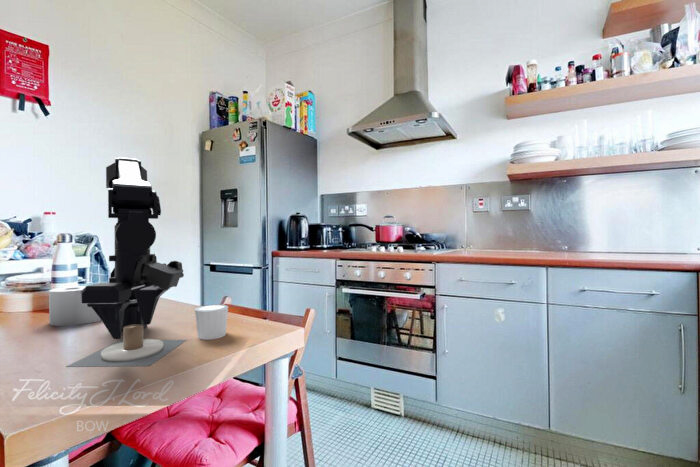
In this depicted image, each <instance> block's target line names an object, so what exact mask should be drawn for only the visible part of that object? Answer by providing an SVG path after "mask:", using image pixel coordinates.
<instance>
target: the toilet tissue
mask: <svg viewBox="0 0 700 467" xmlns="http://www.w3.org/2000/svg"><path fill="white" fill-rule="evenodd" d="M86 286H87V285H77V286H75V285H74V286H64V287H63V286H62V287H56V288H53V289H52V288H51V289H49V290H48V294H49V295H48V305H49V306H48V308H49V310H48V314H49V315H48V316H49V317H48V319H49V325H50V326H53V327H54V326H58V327H59V326H60V327H63V326H73V325H81V324H90V323H91V324H92V323H98V322H102V320H101V319H100V317H99V316H98V315H97V314H96V312H95V311H94V310H93V309H92V307H88V306H87V303H81V291H82V290H83V289H84V288H85V287H86Z"/></svg>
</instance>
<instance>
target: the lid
mask: <svg viewBox="0 0 700 467" xmlns="http://www.w3.org/2000/svg"><path fill="white" fill-rule="evenodd" d="M122 333H123V335H122V336H123V338H122V340H123V342H122V343H118V344H114V345H112V346H109V345H108V346H109V347H107V346H106V347H107V348H105V347H104V348H105V349H103V348H102V349H103V350H102V351H101V359H103V360H105V361H113V362H118V361H130V360H136V359H140V358H144V357H148V356H151V355H153V354H156V353H158V352H160V351H161V350H162V349H163V342H162V341H160V340H161V339H156V338H155V339H154V338H144V328H143V325H142V324H133V325H128V326H125V327H123V332H122Z"/></svg>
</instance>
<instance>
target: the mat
mask: <svg viewBox="0 0 700 467" xmlns="http://www.w3.org/2000/svg"><path fill="white" fill-rule="evenodd" d="M159 340H160V341H162V342H163V349H162V350H161V351H160V352H158V353H156V354H153V355H151V356H148V357H144V358H140V359H136V360H130V361H118V362H113V361H105V360H103V359H101V351H102V350H103V349H105V348H107V347H109V346H112V345H114V344H118V343H122V342H123V339H120V340H118V341H117V340H116V341H115V342H114V343H111V344H109V345H107V346H106V347H103V348H102V349H99V350H97V351H95V352H93V353H91V354H89V355H87V356H85V357H83V358H81V359H79V360H76V361H75V362H72V363H69V365H67V366H65V367H66V368H80V367H81V368H85V367H86V368H89V367H91V368H92V367H94V368H96V367H97V368H98V367H99V368H100V367H101V368H102V367H103V368H106V367H107V368H108V367H111V368H112V367H116V368H117V367H150V366H152V365H153V364H155V363H156V362H158V361H160V360H161V359H162V358H163V357H165V356H166V355H168V354H169V353H171V352H172V351H173V350H175V349H176V348H178V347H179V346H180V345H182V344H184V343H186V341H187V339H159Z"/></svg>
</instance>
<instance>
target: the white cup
mask: <svg viewBox="0 0 700 467" xmlns="http://www.w3.org/2000/svg"><path fill="white" fill-rule="evenodd" d="M194 312H195V313H194V315H195V322H196V333H197V338H198V339H199V340H205V341H206V340H216V339H219V338H223V337H225V336H226V334H227V326H228V325H227V324H228V314H229V305H226V304H207V305H206V304H205V305H202V306H198V307H196V308H194Z"/></svg>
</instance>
